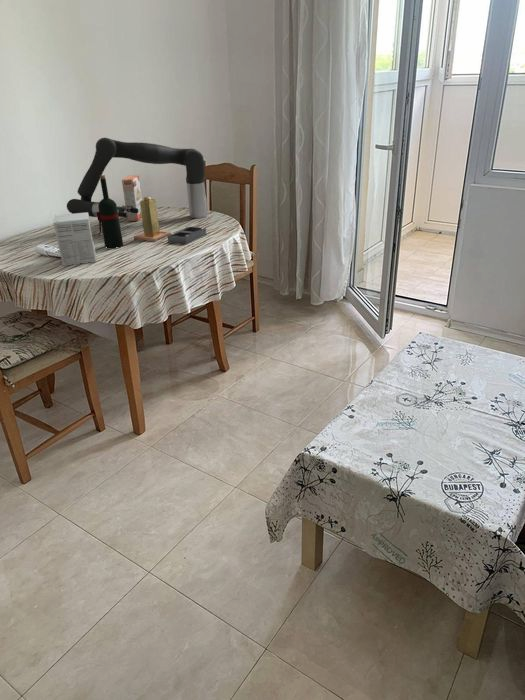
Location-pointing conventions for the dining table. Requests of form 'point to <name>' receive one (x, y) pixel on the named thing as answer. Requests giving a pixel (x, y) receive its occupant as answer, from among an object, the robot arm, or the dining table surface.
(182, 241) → the grey tray with studs
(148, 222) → the tan tall block
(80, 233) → the supplement box
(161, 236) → the terracotta dish
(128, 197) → the cracker box
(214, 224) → the dining table surface
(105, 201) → the wine bottle
